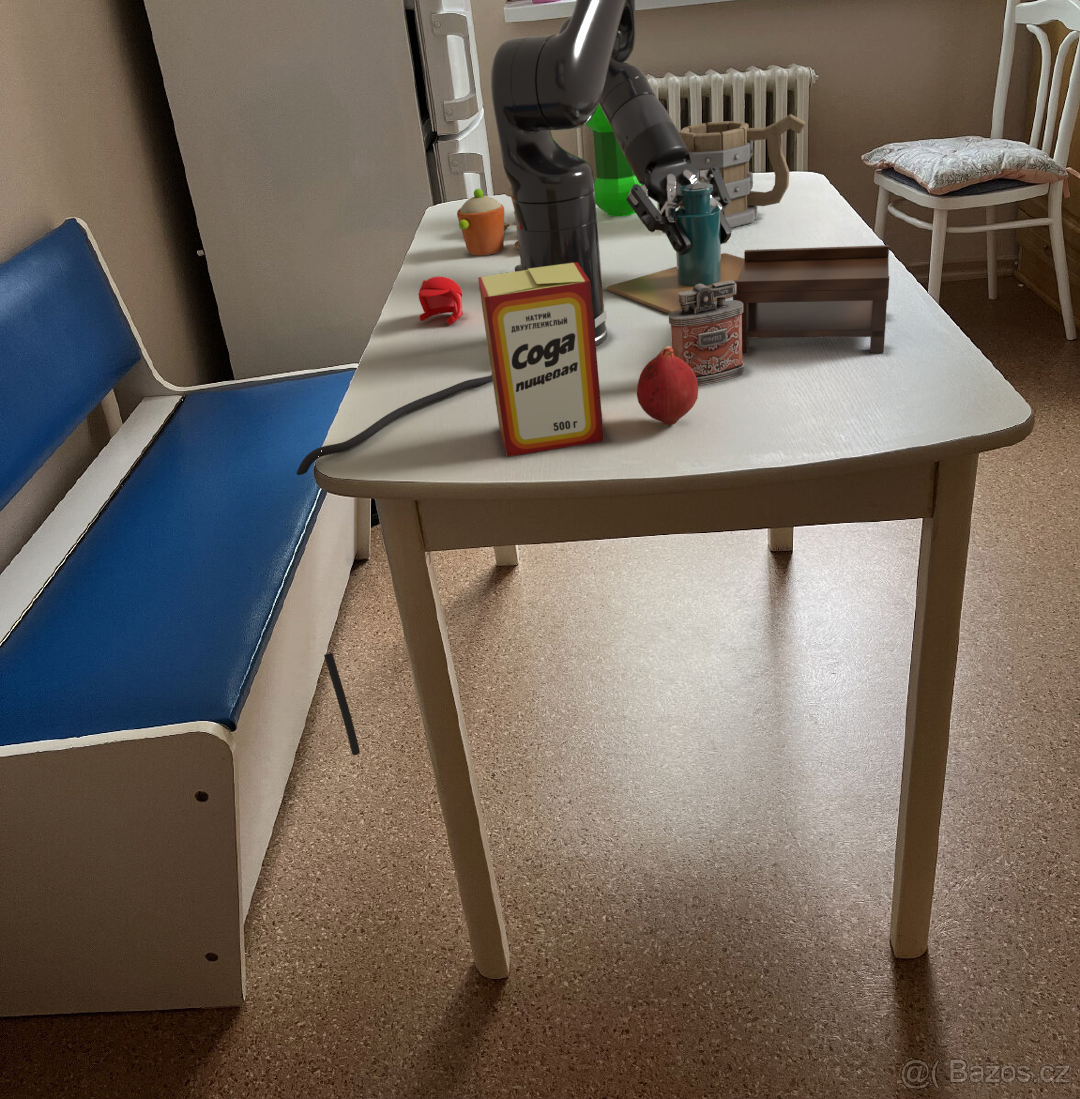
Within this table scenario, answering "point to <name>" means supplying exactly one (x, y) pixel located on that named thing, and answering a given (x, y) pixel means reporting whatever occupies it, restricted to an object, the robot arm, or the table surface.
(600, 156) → the plastic bottle
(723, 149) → the tankard
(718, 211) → the vase
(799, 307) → the rack
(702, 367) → the lighter
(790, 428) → the table surface
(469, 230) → the toy tea set
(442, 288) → the red toy helmet
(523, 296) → the baking soda box
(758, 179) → the table surface
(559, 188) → the robot arm
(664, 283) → the placemat
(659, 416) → the onion
